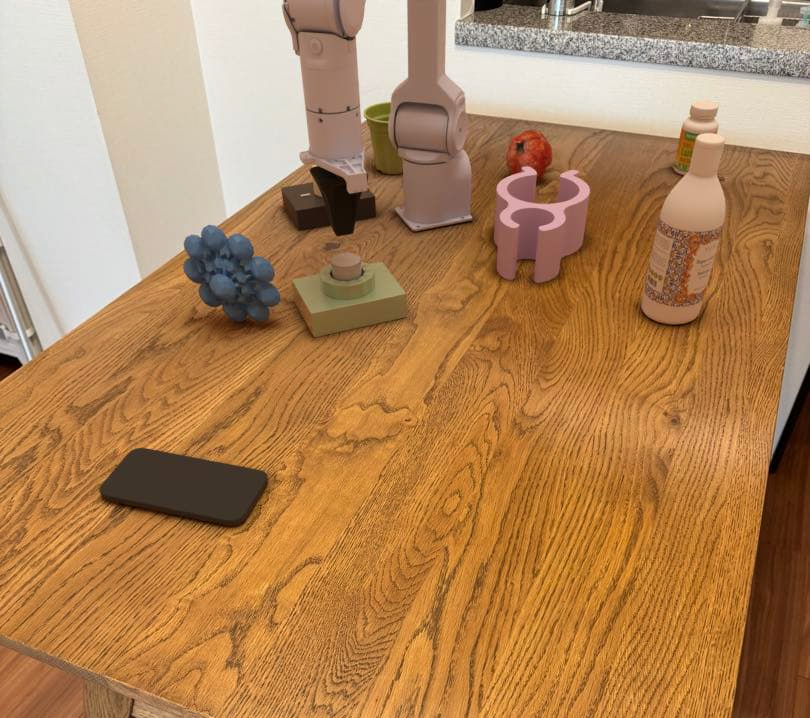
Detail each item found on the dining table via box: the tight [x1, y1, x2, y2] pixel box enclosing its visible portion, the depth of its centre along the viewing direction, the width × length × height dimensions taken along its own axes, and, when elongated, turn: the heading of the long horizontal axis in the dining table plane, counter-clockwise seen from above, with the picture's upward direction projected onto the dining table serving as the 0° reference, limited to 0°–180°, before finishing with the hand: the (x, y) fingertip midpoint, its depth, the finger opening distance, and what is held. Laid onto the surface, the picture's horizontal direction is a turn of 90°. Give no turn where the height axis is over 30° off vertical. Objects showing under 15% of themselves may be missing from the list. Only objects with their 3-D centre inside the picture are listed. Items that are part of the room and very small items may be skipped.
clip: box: [493, 166, 591, 284], centre depth 106 cm, size 20×12×7 cm, turn 165°
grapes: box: [182, 224, 282, 323], centre depth 92 cm, size 12×7×12 cm, turn 78°
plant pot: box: [363, 101, 403, 175], centre depth 127 cm, size 9×9×9 cm
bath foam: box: [640, 133, 727, 325], centre depth 88 cm, size 7×7×20 cm
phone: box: [99, 447, 269, 527], centre depth 75 cm, size 7×1×15 cm
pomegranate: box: [505, 129, 553, 182], centre depth 123 cm, size 7×7×10 cm
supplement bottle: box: [673, 100, 720, 177], centre depth 122 cm, size 5×5×10 cm
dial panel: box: [280, 181, 377, 232], centre depth 117 cm, size 12×9×3 cm
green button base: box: [291, 260, 408, 338], centre depth 96 cm, size 12×9×5 cm
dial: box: [311, 164, 322, 197], centre depth 115 cm, size 4×4×4 cm
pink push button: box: [330, 252, 362, 281], centre depth 94 cm, size 4×4×2 cm
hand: (343, 232), depth 91 cm, fingers closed
